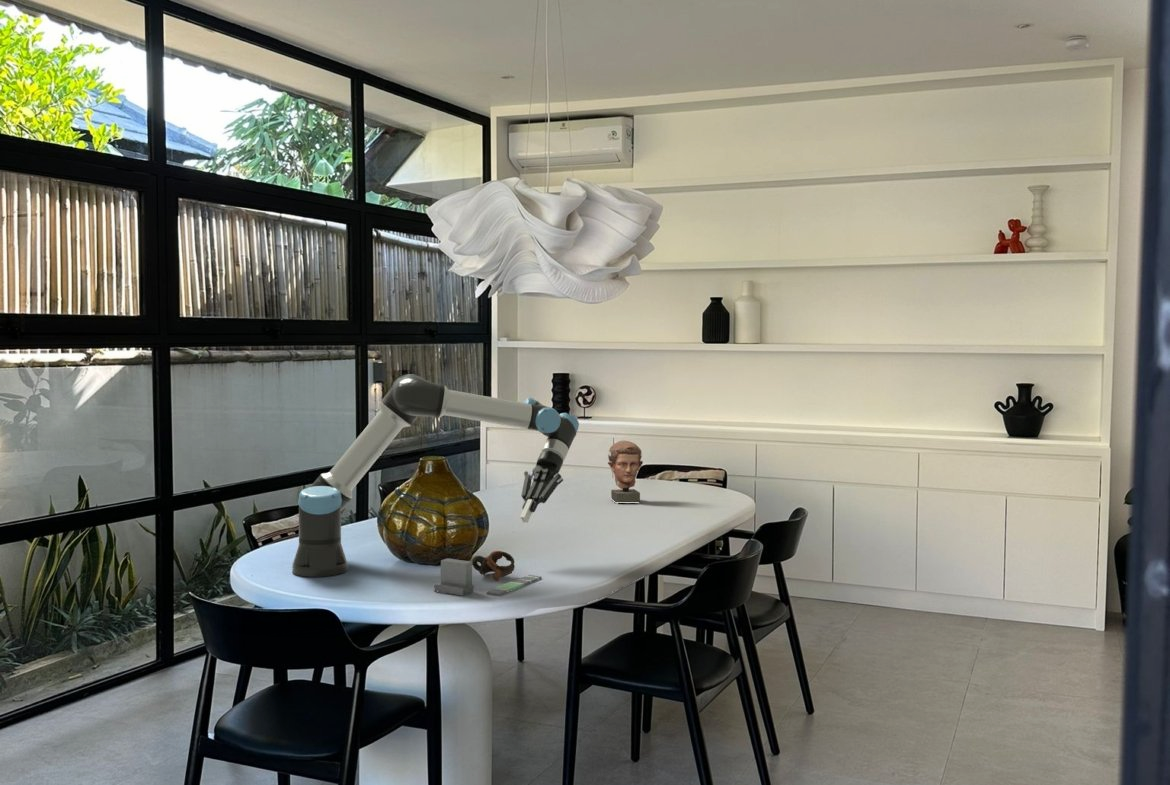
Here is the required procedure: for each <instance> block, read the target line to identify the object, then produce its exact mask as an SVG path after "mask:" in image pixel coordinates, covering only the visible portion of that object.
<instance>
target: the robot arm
mask: <svg viewBox="0 0 1170 785" xmlns="http://www.w3.org/2000/svg"><path fill="white" fill-rule="evenodd" d="M379 403H380V404H379V405H380V406H379V407H380V408H379V411H378V412H377V413H376V415H375V416H373V418H372V420H370V422H369V423H368V424H367V425H366V427H365V428H364V429H363V431H362V432H360V434H359V435H358V436H357V438H356V439H354V441H353V442H352V444H351V445H350V446H349V448H347V450H346V451H345V452H344V453H343V455H342V456H341V457H340V458H339V460H338V461H337V462H336V463H335V465H334V466H333V467H332V468H331V469H330V470H329V471H328V472H323V473H320V474H319V476H317V478H316V479H315V480H314V482H313V483H312V485H310V486H309V487H307V488H303V489H302V490H301V491H300V492H299V494H298V499H297V500H298V501H297V504H298V546H297V550H296V552H295V555H294V559H293V562H292V567H291V568H292V569H291V570H292V574H294V575H297V576H300V577H309V578H313V577H314V578H317V577H331V576H336V575H341V574H343V573H346V572H347V570H348V560H347V558H346V557H347V556H346V554H345V552H344V548H343V546H342V511H343V509H344V508H346V506H347V505H348V504H349V502H350V501H352V499H353V490H354V488H355V487H356V485H357V484H359V482H360V481H361V480H362V478H364V476H365V475H366V474H367V472H369V470H370V469H371V467H372V466H373V465H374V464H375V463H376V461H377V460H378V459H379V458H380V456H381V455H383V452H384V451H385V450H386V449H387V448H388V447H389V446H390V444H391V443H392V442H393V440H394V439H395V438H396V437H397V435H399V433H400V432H401V430H402V429H403V428H408V427H411V426H412V425H413V424H414V422H415V421H417V419H418V418H419V417H429V418H430V417H432V418H439V419H440V418H442V417H443V416H447V417H455V418H461V419H465V420H471V421H478V422H483V423H489V424H496V425H502V426H508V427H513V428H514V427H515V428H521V429H527V430H530V431H538V432H539V433H541V434H542V435H543V436H545V437H546V441H545V442H544V443H545V444H544V446H543V448H542V449H541V453H540V454H539V456H538V457H537V460H536V464H535V466H534V468H532V471H529V472H528V471H524V472H523V475H524V479H523V480H524V481H523V486H522V491H521V496H520V497H521V498H522V499H523V501H524V502H523V504H522V508H521V509H522V512H521V514H520V516H519V517H520V519H521V521H522V523H527V524H528V523H529V520H530V518H531V517H532V514H533V513H535V512H536V510H537V508H538V505H540V504H545V503H546V502H547V501H548V499H549V498H550V496H552V494H553V493H554V491H555V489H557V487H558V486H559V485H560V484H561V483H562V482H563V481H564V479H563V477H562V475H561V474H560V473H559V472H560V471H561V468H562V467H563V465H564V461H565V459H566V457H567V455H568V452H569V450H570V448H571V446H572V443H573V441H574V439H575V437H576V436H577V432H578V430H579V426H580V423H579V420H578V419H577V417H575V415H573V414H569V413H567V412H562V413H560V414H559V412H558V411H557V410H556V409H555V408H554V407H550V406H546V405H543V404H542V403H540V402H539V401H538V400H536V399H534V398H532V397H527V398H526V399H525V400H524V401H523V402H521V401H516V400H510V399H509V400H508V399H504V398H498V397H493V396H486V395H480V394H476V393H471V392H470V393H469V392H464V391H460V390H459V391H457V390H452V389H449V388H448V386H446V385H445V384H438V383H434V382H431V381H430V380H427V379H425V378H423V377H421V376H419V375H417V374H414V373H413V374H412V373H411V374H410V373H409V374H404V375H402V376H400V377H398V378H397V379H396V380H395V381H394V382H393V383H392V385H391V387H390V389H389V390H388V392H387V393H386V395H384V397H383V398H382V399H381V400H380V401H379ZM532 480H533V481H532Z"/></svg>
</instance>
